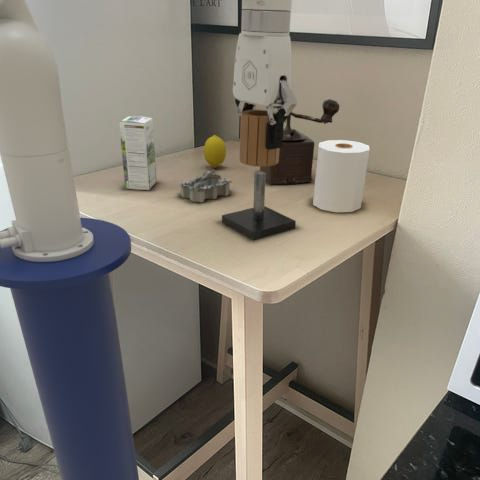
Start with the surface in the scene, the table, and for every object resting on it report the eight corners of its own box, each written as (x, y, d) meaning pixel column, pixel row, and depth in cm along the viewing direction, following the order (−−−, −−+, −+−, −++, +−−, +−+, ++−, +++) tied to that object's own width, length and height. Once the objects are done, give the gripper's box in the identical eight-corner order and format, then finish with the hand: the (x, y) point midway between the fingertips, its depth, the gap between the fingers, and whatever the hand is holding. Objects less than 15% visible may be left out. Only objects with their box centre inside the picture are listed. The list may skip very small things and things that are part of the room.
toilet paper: (344, 194, 111) (352, 137, 104) (370, 209, 103) (380, 150, 96) (303, 198, 108) (309, 141, 101) (327, 215, 100) (335, 154, 93)
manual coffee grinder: (269, 186, 114) (274, 102, 105) (258, 172, 124) (261, 93, 114) (333, 182, 117) (343, 100, 107) (317, 169, 126) (325, 92, 117)
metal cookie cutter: (215, 186, 114) (215, 168, 112) (235, 195, 109) (235, 176, 107) (175, 194, 108) (174, 176, 106) (194, 204, 103) (194, 185, 101)
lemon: (201, 165, 127) (200, 133, 123) (221, 163, 129) (221, 131, 125) (208, 172, 123) (208, 138, 118) (229, 169, 125) (229, 136, 120)
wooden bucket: (255, 168, 84) (257, 118, 80) (232, 159, 88) (233, 111, 84) (286, 163, 87) (289, 114, 83) (262, 154, 92) (264, 108, 88)
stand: (253, 240, 89) (255, 185, 83) (221, 222, 96) (221, 170, 90) (295, 228, 94) (299, 175, 88) (262, 212, 101) (264, 162, 95)
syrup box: (133, 181, 116) (126, 115, 108) (157, 183, 115) (152, 116, 107) (125, 189, 111) (117, 120, 103) (150, 191, 110) (145, 122, 102)
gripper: (214, 21, 81) (214, 135, 90) (283, 27, 69) (274, 158, 79) (251, 21, 84) (247, 131, 94) (322, 27, 73) (309, 152, 82)
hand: (259, 142), depth 86 cm, fingers closed on wooden bucket, 6 cm apart
